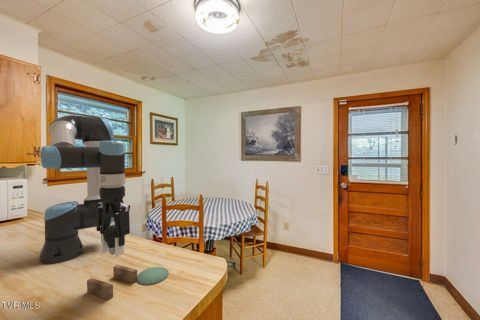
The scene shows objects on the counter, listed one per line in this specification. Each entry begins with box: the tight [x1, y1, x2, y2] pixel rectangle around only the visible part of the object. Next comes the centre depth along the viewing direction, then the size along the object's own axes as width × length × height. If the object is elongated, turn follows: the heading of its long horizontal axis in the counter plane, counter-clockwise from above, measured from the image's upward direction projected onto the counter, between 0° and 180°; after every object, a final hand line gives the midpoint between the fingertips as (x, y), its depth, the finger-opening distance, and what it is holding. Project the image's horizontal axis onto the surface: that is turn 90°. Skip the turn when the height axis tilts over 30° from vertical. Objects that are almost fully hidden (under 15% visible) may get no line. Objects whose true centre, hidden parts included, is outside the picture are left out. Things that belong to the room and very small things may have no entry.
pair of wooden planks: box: [86, 264, 138, 301], centre depth 74 cm, size 10×11×4 cm
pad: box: [136, 266, 169, 286], centre depth 80 cm, size 11×11×1 cm
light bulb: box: [103, 224, 121, 256], centre depth 74 cm, size 6×6×10 cm
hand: (112, 253), depth 74 cm, fingers closed on light bulb, 6 cm apart
